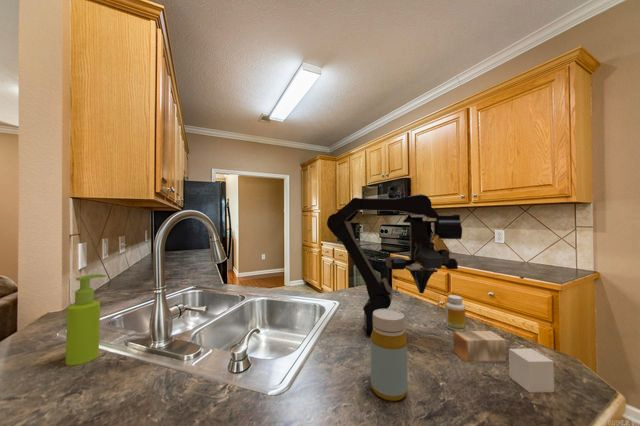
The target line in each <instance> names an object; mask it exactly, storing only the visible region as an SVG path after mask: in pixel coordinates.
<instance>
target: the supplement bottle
mask: <svg viewBox="0 0 640 426" xmlns="http://www.w3.org/2000/svg"><path fill="white" fill-rule="evenodd" d="M447 300H448V301H447V302H446V304H445V326H446V328H447V329H449V330H451V331H465V330H466V306H465V305H464V304H463V297H462V296H461V295H457V294H456V295H455V294H454V295H453V294H450V295H448V297H447Z"/></svg>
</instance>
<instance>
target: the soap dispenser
mask: <svg viewBox="0 0 640 426" xmlns="http://www.w3.org/2000/svg"><path fill="white" fill-rule="evenodd" d="M105 277H107V275H106V274H101V273H100V274H97V273H96V274H88V275H87V274H86V275H83V276H78V277H75V281H79V284H80V285H79V288H78V289H77V290H75V291H74V303H73V304H70V305H68V306H67V307H66V333H65V335H66V336H65V337H66V338H65V363H64V364H65V365H66V366H68V367H69V366H71V367H72V366H79V365H83V364H86V363H89V362H90V361H94V360H95V359H96V358H98V356H99V355H100V353H99V352H100V324H101V323H100V321H101V317H100V315H101V301H100V300H95V299H94V298H95V295H94V294H95V289H94V288H92V287H90V280H91V279H95V278H105Z"/></svg>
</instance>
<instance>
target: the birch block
mask: <svg viewBox="0 0 640 426" xmlns="http://www.w3.org/2000/svg"><path fill="white" fill-rule="evenodd" d="M452 331H453V332H452V333H453V334H452V335H453V336H452V338H453V340H452V341H453V343H452V344H453V345H452V346H453V352H454V353H455V354H456V355H458V356H459V357H460V359H462V360H463V361H464V362H467V363H469V362H472V363H474V362H476V363H477V362H506V361H507V343H506V339H505V338H503V337H501V336H500V335H498V334H497V333H494V331H492V330H467V331H465V330H464V331H454V330H452Z"/></svg>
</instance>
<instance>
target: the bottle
mask: <svg viewBox="0 0 640 426" xmlns="http://www.w3.org/2000/svg"><path fill="white" fill-rule="evenodd" d="M405 318H406V317H405V314H404V313H403V312H401V311H400V310H396V309H391V308H387V309H377V310H375V311H374V312H373V331H372V333H371V336H370V387H371V389H372V391H373V392H374V393H375V395H376V396H378V397H379V398H380V397H381V399H383V400H385V401H389V402H396V401H401V400H402V399H404V397H406V396H407V394H408V340H407V336H406V332H405V328H406V327H405V325H406V324H405V320H406V319H405Z"/></svg>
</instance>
